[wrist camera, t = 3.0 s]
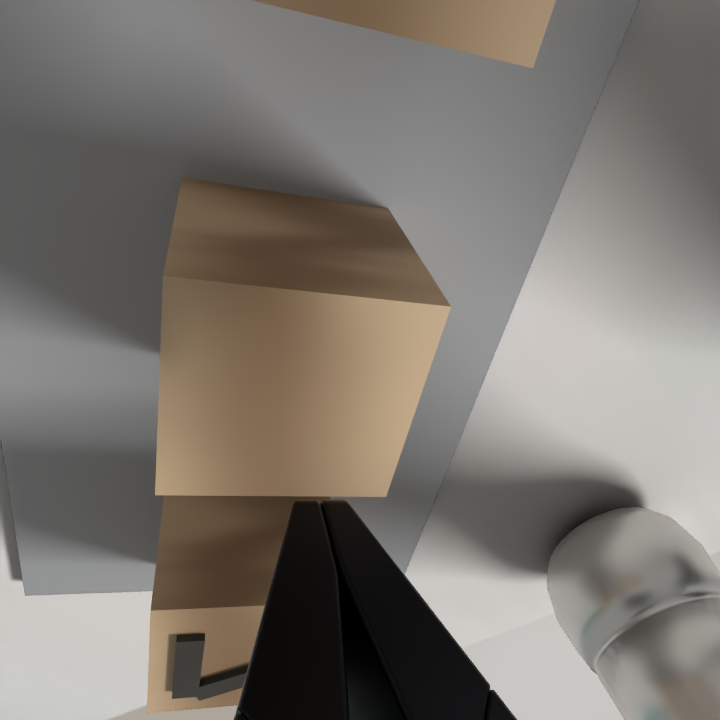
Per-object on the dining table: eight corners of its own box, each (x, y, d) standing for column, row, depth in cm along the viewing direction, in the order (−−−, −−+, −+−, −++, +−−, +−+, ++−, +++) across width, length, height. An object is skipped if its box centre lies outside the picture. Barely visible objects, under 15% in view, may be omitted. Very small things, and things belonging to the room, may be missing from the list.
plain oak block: (388, 209, 15) (450, 306, 11) (348, 369, 17) (386, 496, 13) (182, 177, 13) (162, 276, 9) (172, 357, 16) (154, 495, 12)
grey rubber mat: (750, -313, 11) (771, -324, 10) (398, 571, 24) (401, 582, 24) (-171, -782, 7) (-197, -828, 6) (28, 582, 21) (25, 595, 20)
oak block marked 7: (324, 466, 19) (351, 608, 15) (300, 561, 22) (318, 704, 18) (167, 463, 18) (149, 618, 14) (161, 565, 21) (146, 720, 16)
